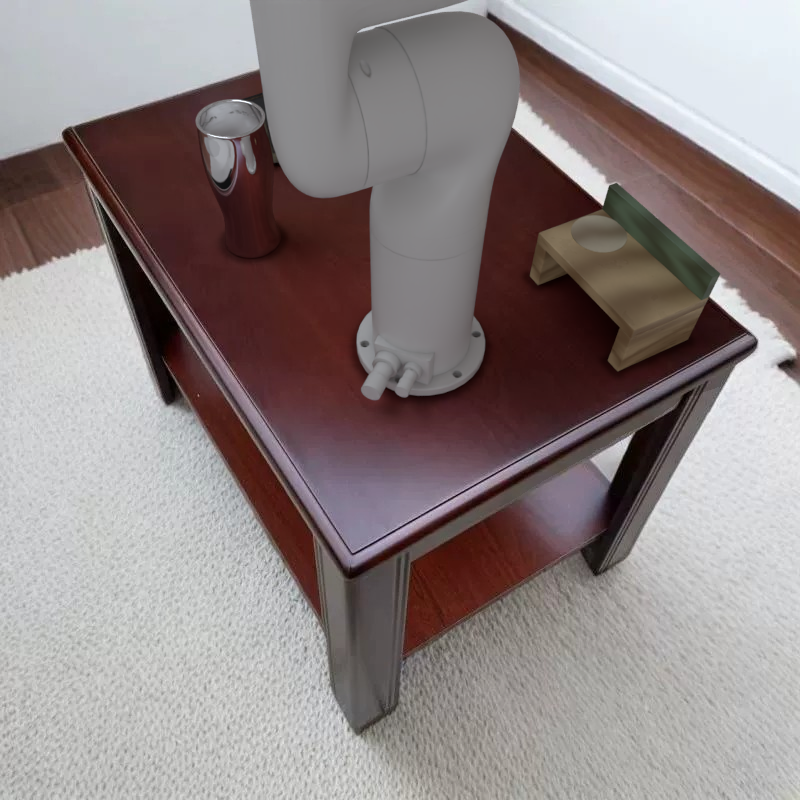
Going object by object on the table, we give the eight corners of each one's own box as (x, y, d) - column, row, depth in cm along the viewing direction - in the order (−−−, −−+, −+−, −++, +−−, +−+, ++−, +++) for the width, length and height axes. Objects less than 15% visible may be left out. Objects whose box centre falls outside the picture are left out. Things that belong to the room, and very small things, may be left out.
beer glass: (297, 239, 82) (282, 116, 70) (249, 270, 78) (225, 148, 66) (256, 211, 84) (234, 89, 72) (208, 240, 81) (177, 118, 69)
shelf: (688, 339, 73) (720, 273, 66) (617, 372, 71) (643, 306, 64) (596, 250, 81) (616, 182, 74) (529, 276, 79) (543, 208, 71)
